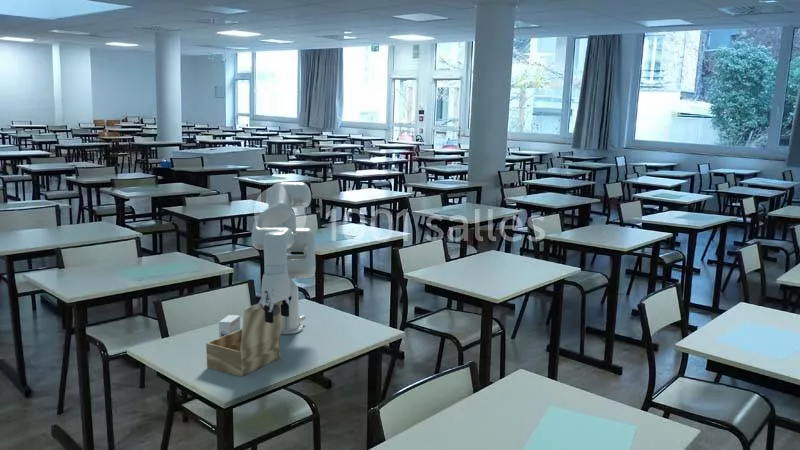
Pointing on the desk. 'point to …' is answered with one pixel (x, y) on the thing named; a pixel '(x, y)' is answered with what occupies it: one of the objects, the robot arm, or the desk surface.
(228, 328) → the ink box
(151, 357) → the desk surface
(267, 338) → the wooden box lid
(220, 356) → the wooden box
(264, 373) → the desk surface
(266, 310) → the robot arm
